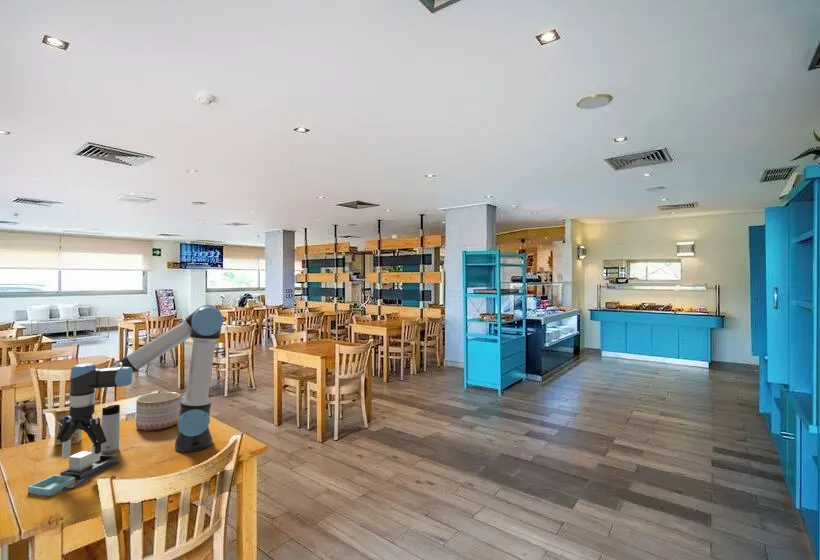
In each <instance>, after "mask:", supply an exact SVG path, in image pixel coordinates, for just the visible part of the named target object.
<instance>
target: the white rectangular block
mask: <svg viewBox="0 0 820 560" xmlns="http://www.w3.org/2000/svg"><path fill="white" fill-rule="evenodd" d="M91 462H92V451H80V452H77V453H74V454H72V455H71V456H69V457H68V469H69V472H74V473H81V472H83V471H85V470H88V469H90V468H92V464H93V463H91Z"/></svg>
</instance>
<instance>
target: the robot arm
mask: <svg viewBox="0 0 820 560" xmlns="http://www.w3.org/2000/svg"><path fill="white" fill-rule="evenodd" d="M223 324H224V317H223V314H222V312H221V311H220V309H218V307H216V306H214V305H210V304H205V305H204V304H203V305H202V306H199V307H198V308H196V309H195V311H193V312H192V313H191V314H189V315H188V316H186V317H185V318H183V321H181V322H180V323H179V324H177V325H175V326H174V327H172V328H171V329H168V330H167V331H166V332H164V333H163V334H161V335H158V337H156V338H154V339H153V340H151V341H149V342H148V343H145V344H144V345H142V346H141V347H139V348H137V349H136V350H135V351H133V352H131V353H129V354H128V355H127V356H125V357H123V358H121V359H119V360H117V361H115V362H114V363H112V364H111V366H110V367H105V368H104V367H103V368H97V366H96V364H95V363H94V362H93V363H92V362H91V363H89V362H87V363H86V362H85V363H79V364H74V365H73V366H72V367H71V369H70V377H69V408H70V410H69V416H66V417H64V423H63V425H62V427H61V429H60V431H59V433H58V436H57V440H60V441H61V442H62V444H60V445H61V460H66V459H69V456H72V455H71V453H72V452H71V451H72V443H71V440H68V439H71V438H70V437H71V436H72V435H73V433H74V432H75V431H76V430H77V429H80V430H82V431H83V432H84V433H86V434H87V436H88V438H89V439H90V441H91V443H92V444H93V445H91V452H92V462H91V463H95V462H97V461H99V460H100V454H101V444H102V443H105V442H106V438H105V435H104V432H103V430H102V424H101V419H100V417H95V418H93V415H94V413H95V402H96V401H95V399H96V398H95V395H96V389H102V388H114V387H115V388H119V387H120V388H121V387H127V386H131V384H132V383H133V378H134V373H136V372H137V371H139V370H141V369H142V368H143V367H145V366H148V364H150V363H152V362H153V361H155V360H157V359H158V358H160V357H161V356H163V355H165V354H166V353H168V352H169V351H170V350H172V349H174V348H176V347H178V346H179V345H180V344H182V343H184V342H186V341H187V340H189V339H191V340H192V341H193V342H192V349H191V357H190V363H189V371H188V379H187V386H186V393H185V395H184V396H182V397H180V413H179V420H178V423H176V425H177V428H178V430H179V431H178V434H177V436H176V439H175V442H174V450H175V451H176V452H179V453H193V452H194V453H195V452H198V451H202V450H205V449H207V448H209V447H211V445H213V437H212V434H211V431H210V428H209V426H210V422H211V417H210V415H211V407H212V399H211V398H210V396H209V395H210V388H211V387H210V385H211V378H212V370H213V365H214V364H213V363H214V356H215V348H216V342H218V341H219V340H220V338H221V332H222V327H223ZM71 423H72V424H71ZM70 425H71V426H70Z"/></svg>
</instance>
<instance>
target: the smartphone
mask: <svg viewBox="0 0 820 560" xmlns="http://www.w3.org/2000/svg"><path fill="white" fill-rule="evenodd" d="M97 474H99V473H98V472H96V473H94V474H92V475H90V476H87V477H85V478H83V479H81V480H77V479H75V483H73V484H70V485H68V486H66V487H64V488H63V490H62V491H72V490H74V489H76V488H77V487H79V486H80V485H82V484H83V483H85V482H86V481H89V479H91V478H92V477H94V476H95V475H97ZM60 483H63V482H60ZM60 483H58V484H60ZM58 484H57V485H58ZM55 486H56V485H55ZM53 487H54V486H53Z"/></svg>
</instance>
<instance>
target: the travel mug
mask: <svg viewBox="0 0 820 560" xmlns="http://www.w3.org/2000/svg"><path fill="white" fill-rule="evenodd" d="M120 410H121V406H120V404H113V405H107V406H106V407H102V411H101V412H102V413H101V427H102V430H103V432H104V435H105V438H106V442H105V443H102V444H101V452H100V454H102V455H108V454H112V453H116V452H118V451H119V450H120V426H121V425H120V418H121V416H120V414H121V411H120Z"/></svg>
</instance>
